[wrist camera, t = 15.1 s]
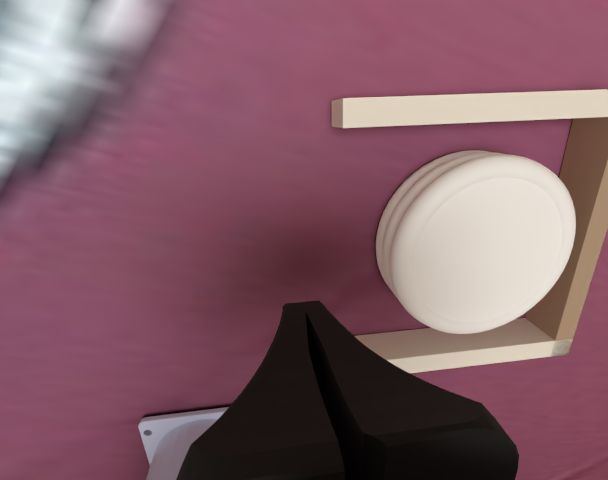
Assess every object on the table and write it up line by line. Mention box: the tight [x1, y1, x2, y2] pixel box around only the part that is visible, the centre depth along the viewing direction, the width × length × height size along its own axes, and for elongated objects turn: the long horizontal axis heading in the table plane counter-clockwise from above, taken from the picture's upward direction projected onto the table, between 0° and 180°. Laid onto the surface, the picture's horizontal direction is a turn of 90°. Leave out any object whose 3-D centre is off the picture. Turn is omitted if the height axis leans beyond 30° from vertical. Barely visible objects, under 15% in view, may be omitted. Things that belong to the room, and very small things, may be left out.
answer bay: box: [331, 89, 608, 373], centre depth 18 cm, size 15×15×2 cm
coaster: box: [376, 150, 576, 334], centre depth 18 cm, size 10×10×4 cm
